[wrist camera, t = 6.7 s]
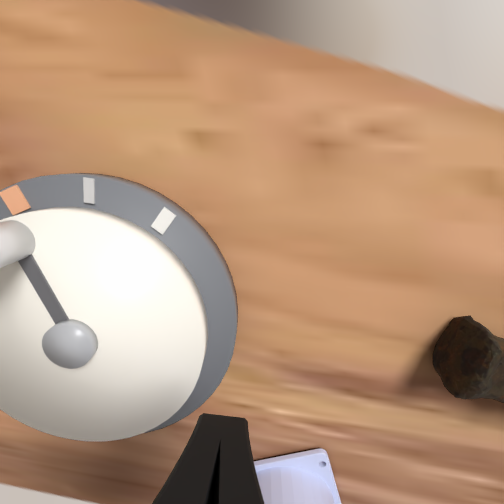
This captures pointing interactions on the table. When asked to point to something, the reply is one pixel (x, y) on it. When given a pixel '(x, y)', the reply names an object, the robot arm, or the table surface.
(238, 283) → the table surface
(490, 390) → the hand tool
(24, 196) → the dial base
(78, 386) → the dial
